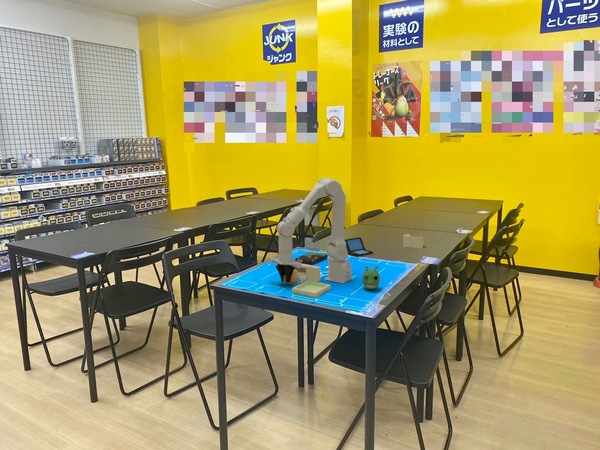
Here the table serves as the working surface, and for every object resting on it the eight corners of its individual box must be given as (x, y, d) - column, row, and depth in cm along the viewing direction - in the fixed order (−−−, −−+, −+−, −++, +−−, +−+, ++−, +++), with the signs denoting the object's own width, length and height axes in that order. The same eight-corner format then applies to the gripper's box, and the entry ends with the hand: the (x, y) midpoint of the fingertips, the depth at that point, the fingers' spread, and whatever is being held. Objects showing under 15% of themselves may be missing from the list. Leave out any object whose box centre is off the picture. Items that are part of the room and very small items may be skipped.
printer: (320, 280, 193) (320, 267, 192) (311, 285, 188) (311, 271, 186) (285, 273, 203) (285, 261, 202) (276, 277, 197) (276, 264, 196)
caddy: (299, 281, 192) (299, 270, 191) (290, 286, 186) (289, 274, 185) (290, 279, 195) (290, 268, 194) (280, 284, 189) (280, 272, 188)
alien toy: (361, 292, 179) (362, 268, 177) (362, 285, 186) (362, 262, 185) (379, 293, 178) (380, 268, 176) (379, 286, 185) (380, 263, 183)
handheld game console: (356, 257, 230) (357, 243, 229) (343, 253, 239) (343, 239, 238) (374, 254, 238) (374, 240, 236) (360, 249, 246) (360, 236, 245)
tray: (330, 289, 182) (330, 284, 182) (315, 298, 172) (315, 293, 172) (307, 284, 188) (307, 280, 188) (292, 293, 178) (292, 288, 178)
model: (403, 246, 255) (404, 233, 253) (422, 247, 252) (423, 234, 250) (403, 247, 252) (403, 234, 250) (422, 249, 249) (423, 235, 247)
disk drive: (312, 266, 216) (327, 259, 229) (312, 261, 216) (327, 254, 228) (294, 263, 222) (310, 256, 234) (294, 258, 221) (310, 251, 234)
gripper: (265, 249, 186) (266, 281, 188) (294, 254, 178) (294, 287, 180) (275, 246, 191) (276, 276, 194) (304, 251, 183) (304, 282, 186)
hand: (285, 281), depth 188 cm, fingers closed on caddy
